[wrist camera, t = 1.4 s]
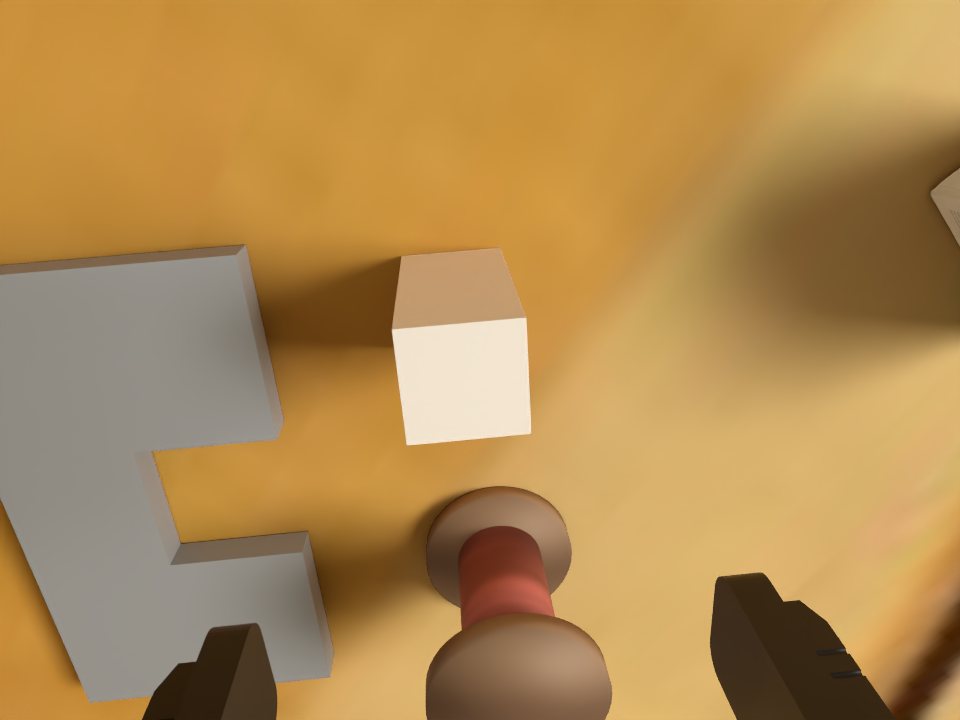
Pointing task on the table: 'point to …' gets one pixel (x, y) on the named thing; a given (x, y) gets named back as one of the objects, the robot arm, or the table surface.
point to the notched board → (143, 462)
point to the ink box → (949, 202)
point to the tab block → (460, 348)
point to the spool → (509, 615)
